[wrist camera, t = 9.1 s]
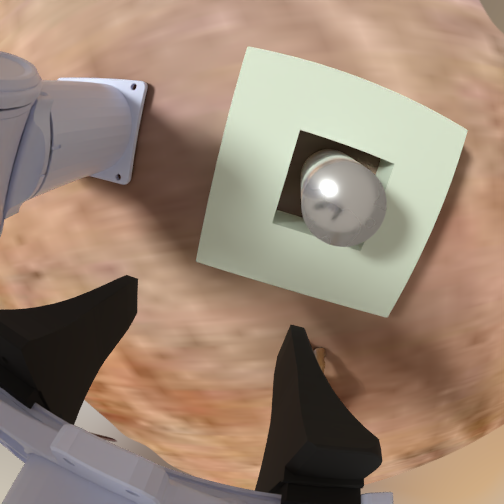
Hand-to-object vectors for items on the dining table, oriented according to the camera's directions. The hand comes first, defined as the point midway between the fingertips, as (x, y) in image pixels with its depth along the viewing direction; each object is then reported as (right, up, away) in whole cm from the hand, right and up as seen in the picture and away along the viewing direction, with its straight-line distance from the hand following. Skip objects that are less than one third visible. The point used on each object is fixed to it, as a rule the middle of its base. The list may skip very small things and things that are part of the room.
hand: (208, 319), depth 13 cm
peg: (+7, +8, +6) cm, 12 cm away
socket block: (+7, +8, +6) cm, 12 cm away
